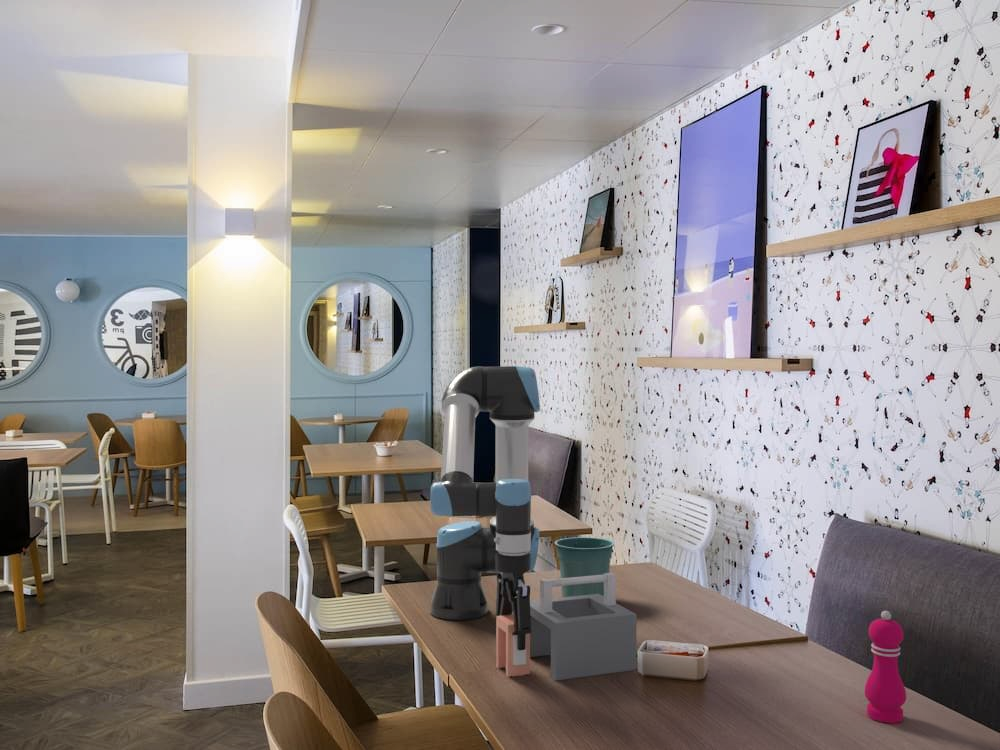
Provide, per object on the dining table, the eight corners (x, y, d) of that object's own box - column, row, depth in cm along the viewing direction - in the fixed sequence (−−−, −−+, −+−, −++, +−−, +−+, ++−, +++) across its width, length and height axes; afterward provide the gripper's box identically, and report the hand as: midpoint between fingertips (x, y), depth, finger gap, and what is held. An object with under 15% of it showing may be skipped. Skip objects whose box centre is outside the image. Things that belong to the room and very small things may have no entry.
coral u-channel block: (496, 666, 199) (496, 616, 199) (517, 663, 201) (517, 613, 200) (507, 676, 192) (508, 624, 192) (529, 674, 194) (530, 622, 194)
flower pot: (544, 596, 256) (544, 539, 256) (594, 590, 263) (594, 534, 263) (573, 611, 242) (573, 550, 241) (625, 604, 248) (626, 545, 248)
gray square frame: (522, 654, 207) (523, 571, 207) (598, 644, 214) (598, 564, 213) (555, 680, 190) (555, 590, 190) (636, 669, 197) (636, 582, 197)
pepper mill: (857, 710, 175) (858, 606, 174) (893, 708, 175) (894, 605, 175) (875, 725, 168) (877, 616, 167) (913, 724, 168) (915, 616, 168)
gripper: (480, 544, 204) (480, 646, 204) (514, 563, 185) (513, 675, 186) (512, 541, 207) (512, 642, 207) (547, 560, 188) (547, 671, 188)
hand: (512, 658), depth 196 cm, fingers closed on coral u-channel block, 7 cm apart
